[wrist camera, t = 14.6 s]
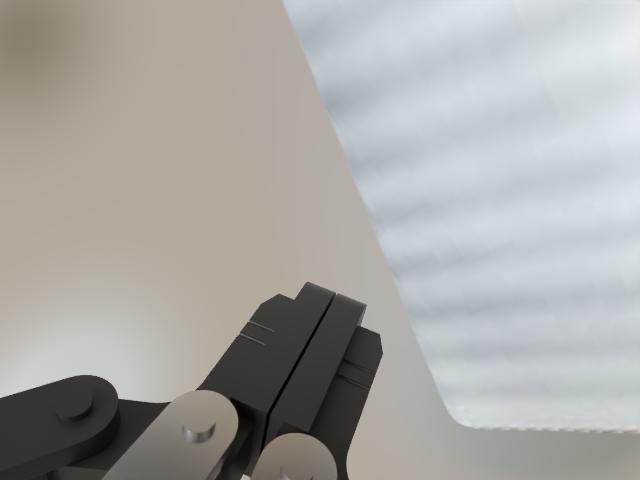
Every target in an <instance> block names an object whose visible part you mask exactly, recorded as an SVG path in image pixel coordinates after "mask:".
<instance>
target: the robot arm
mask: <svg viewBox="0 0 640 480" xmlns="http://www.w3.org/2000/svg"><path fill="white" fill-rule="evenodd" d="M366 306H367V305H366V304H364V303H361V302H359V301H356V300H354V299H351V298H348V297H346V296H343V295H341V294H337V295H336V293H335V292H333V291H330V290H328V289H325V288H323V287H320V286H318V285H315V284H312V283H310V282H307V283H306V284H305V285H304V286H303V288H302V289H301V291H300V292H299V294H298V295H297V297H296V298H295V300H293V299H291V298H288V297H286V296H283V295H281V294H278V295H276V296H274V297H273V298H271V299H269V300H267V301H266V302H264V303H262V304H261V305H260V306H259V308H258V309H257V310H256V312H255V313H254V314H253V316H252V317H251V318H250V321H249V322H247V324H246V325H245V327H244V328H243V329H242V331H241V332H240V334H239V336H237V337H236V339H235V340H234V341H233V343H232V344H231V345H230V347H229V348H228V349H227V351H226V352H225V353H224V355H223V356H222V357H221V359H220V360H219V362H218V363H217V364H216V366H215V367H214V368H213V369H212V371H211V372H210V374H209V375H208V376H207V378H206V379H205V380H204V382H203V383H202V384H201V385H200V386H199V387H198V388H197V389H196V390H195V391H191V392H188V393H185V394H183V395H181V396H179V397H177V398H176V399H174V400H173V401H172V402H167V403H149V402H140V401H132V400H124V399H118V395H117V392H116V390H115V388H114V387H113V385H112V384H111V383H109V382H108V381H106V380H105V379H103V378H100V377H97V376H92V375H80V376H74V377H70V378H66V379H63V380H60V381H56V382H53V383H50V384H47V385H43V386H40V387H36V388H33V389H30V390H26V391H23V392H20V393H16V394H13V395H9V396H6V397H3V398H0V480H240V479H241V477H242V475H243V474H245V475H247V476H249V477H251V478H250V480H349V479H348V475H347V468H346V460H347V453H348V450H349V447H350V444H351V441H352V438H353V435H354V433H355V430H356V427H357V424H358V422H359V419H360V416H361V413H362V410H363V408H364V405H365V402H366V399H367V397H368V394H369V391H370V388H371V385H372V383H373V380H374V377H375V374H376V371H377V368H378V366H379V363H380V360H381V358H382V354H383V352H382V345H381V338H380V334H378V333H375V332H373V331H370V330H368V329H366V328H363V327H361V326H360V325H361V322H362V319H363V316H364V313H365V310H366Z"/></svg>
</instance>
